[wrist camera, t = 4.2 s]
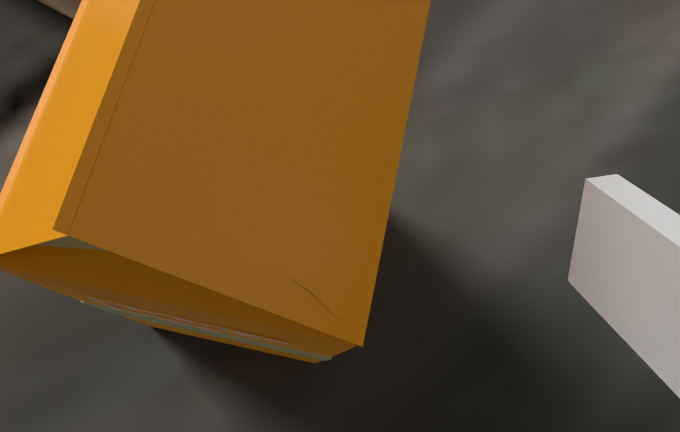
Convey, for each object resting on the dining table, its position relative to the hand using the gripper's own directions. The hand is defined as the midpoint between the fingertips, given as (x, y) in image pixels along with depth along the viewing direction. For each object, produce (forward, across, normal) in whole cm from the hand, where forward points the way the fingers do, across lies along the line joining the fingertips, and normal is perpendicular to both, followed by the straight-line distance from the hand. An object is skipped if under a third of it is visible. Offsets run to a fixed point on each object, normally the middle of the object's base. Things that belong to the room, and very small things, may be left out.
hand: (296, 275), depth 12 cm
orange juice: (+13, -1, -7) cm, 15 cm away
